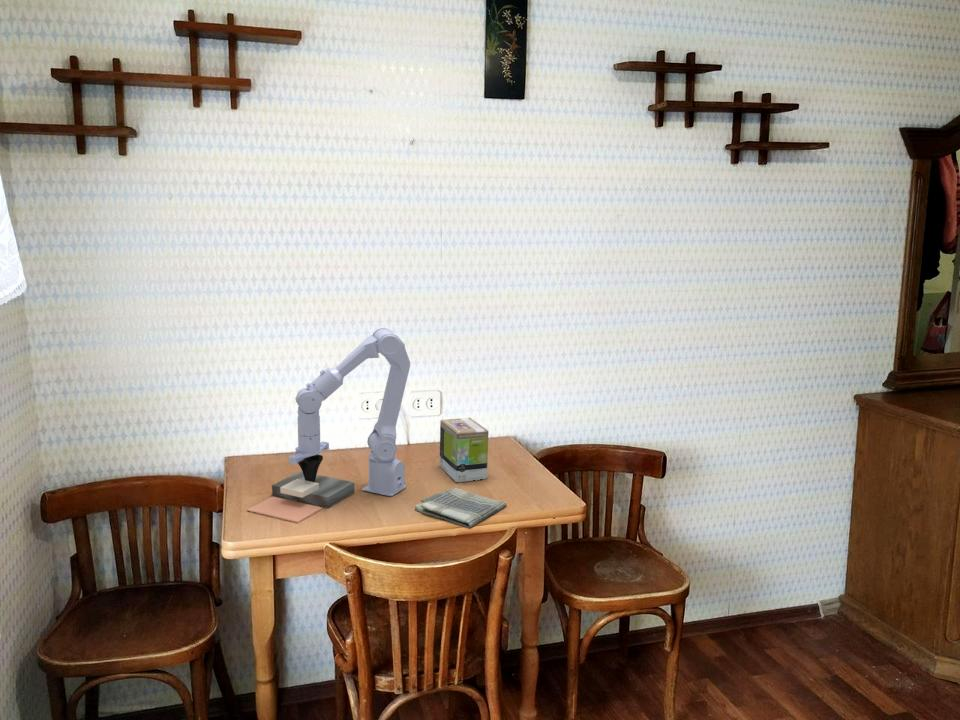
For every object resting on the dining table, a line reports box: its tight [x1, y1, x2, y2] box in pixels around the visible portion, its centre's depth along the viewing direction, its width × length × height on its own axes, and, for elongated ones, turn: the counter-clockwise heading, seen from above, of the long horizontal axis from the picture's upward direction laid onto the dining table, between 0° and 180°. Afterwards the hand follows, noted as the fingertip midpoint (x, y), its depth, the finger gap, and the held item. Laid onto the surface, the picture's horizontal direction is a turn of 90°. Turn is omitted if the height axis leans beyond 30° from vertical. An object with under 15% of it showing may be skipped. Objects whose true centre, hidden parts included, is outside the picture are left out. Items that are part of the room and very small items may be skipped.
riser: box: [271, 470, 356, 509], centre depth 206 cm, size 18×12×3 cm, turn 65°
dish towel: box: [414, 487, 507, 529], centre depth 200 cm, size 19×18×3 cm
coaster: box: [280, 479, 319, 498], centre depth 201 cm, size 7×7×2 cm
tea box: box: [439, 417, 490, 483], centre depth 224 cm, size 15×10×15 cm, turn 22°
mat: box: [246, 496, 324, 524], centre depth 196 cm, size 16×10×1 cm, turn 65°
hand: (310, 482), depth 205 cm, fingers closed
